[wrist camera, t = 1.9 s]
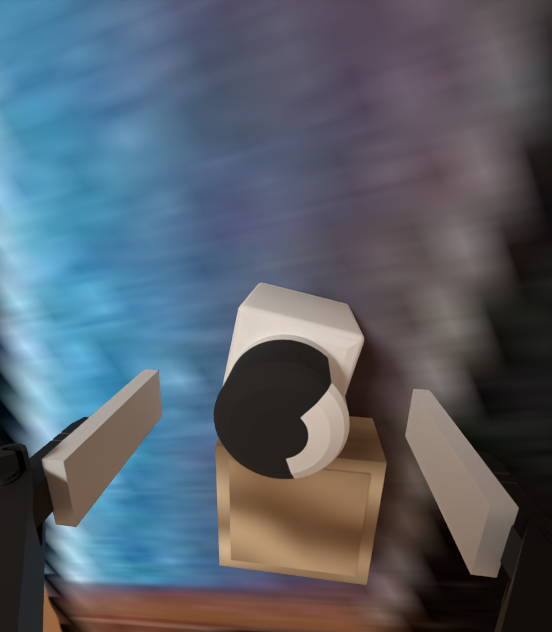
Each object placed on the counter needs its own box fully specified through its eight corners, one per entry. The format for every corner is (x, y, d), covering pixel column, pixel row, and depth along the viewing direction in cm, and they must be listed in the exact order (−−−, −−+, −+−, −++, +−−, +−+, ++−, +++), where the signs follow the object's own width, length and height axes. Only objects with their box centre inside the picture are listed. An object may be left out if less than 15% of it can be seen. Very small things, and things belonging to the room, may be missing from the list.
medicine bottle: (240, 362, 25) (185, 476, 14) (258, 280, 23) (210, 336, 12) (324, 384, 25) (337, 518, 14) (350, 303, 23) (391, 383, 12)
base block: (232, 406, 27) (214, 447, 22) (372, 418, 26) (387, 464, 21) (233, 511, 30) (219, 567, 25) (357, 525, 29) (366, 587, 24)
